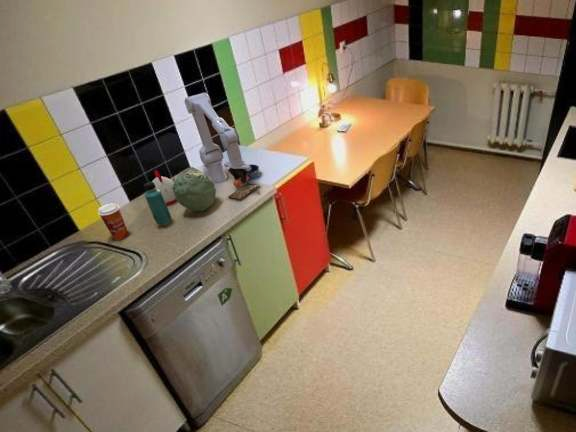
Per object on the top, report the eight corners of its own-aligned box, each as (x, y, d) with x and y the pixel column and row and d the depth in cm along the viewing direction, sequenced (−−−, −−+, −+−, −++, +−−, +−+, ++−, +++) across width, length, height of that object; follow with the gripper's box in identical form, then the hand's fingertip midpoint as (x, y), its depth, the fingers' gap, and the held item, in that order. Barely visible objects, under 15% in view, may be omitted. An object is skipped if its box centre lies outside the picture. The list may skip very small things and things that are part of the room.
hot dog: (238, 188, 195) (236, 182, 194) (233, 187, 196) (231, 181, 195) (250, 179, 202) (249, 174, 200) (245, 178, 203) (244, 173, 202)
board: (240, 200, 195) (239, 198, 195) (228, 198, 198) (228, 196, 197) (259, 187, 206) (259, 185, 205) (248, 185, 208) (247, 182, 208)
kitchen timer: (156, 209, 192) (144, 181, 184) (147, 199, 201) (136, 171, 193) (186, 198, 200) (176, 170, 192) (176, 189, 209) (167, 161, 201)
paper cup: (117, 243, 171) (103, 214, 164) (107, 238, 175) (92, 209, 167) (135, 233, 177) (122, 205, 169) (125, 228, 180) (112, 200, 173)
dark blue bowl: (237, 184, 210) (235, 176, 208) (236, 174, 220) (234, 167, 217) (261, 179, 213) (260, 171, 211) (259, 169, 223) (257, 162, 220)
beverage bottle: (176, 221, 183) (161, 180, 172) (165, 229, 178) (148, 188, 167) (165, 219, 185) (148, 178, 174) (153, 227, 180) (136, 186, 169)
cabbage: (227, 198, 198) (215, 160, 187) (207, 220, 182) (193, 180, 171) (196, 197, 200) (183, 159, 189) (174, 219, 185) (158, 179, 174)
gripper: (252, 154, 192) (259, 180, 199) (228, 150, 197) (235, 176, 204) (242, 160, 186) (249, 187, 194) (217, 156, 192) (225, 182, 199)
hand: (241, 181), depth 199 cm, fingers closed on hot dog, 3 cm apart
